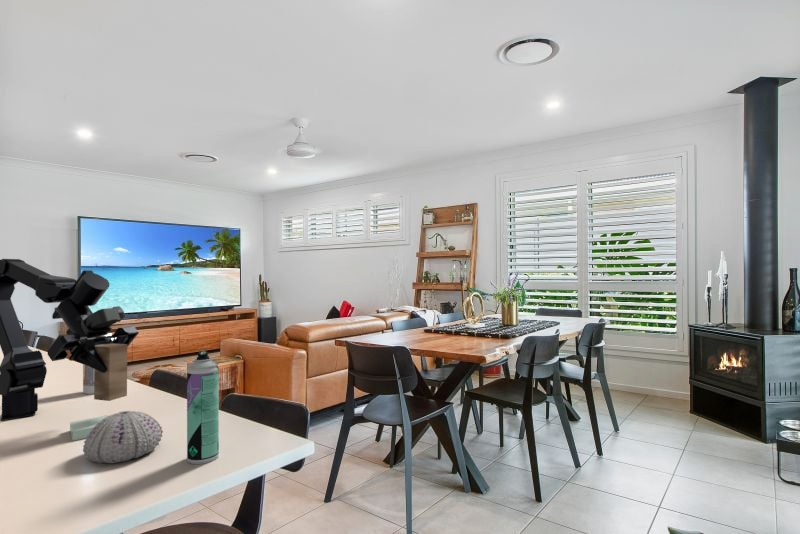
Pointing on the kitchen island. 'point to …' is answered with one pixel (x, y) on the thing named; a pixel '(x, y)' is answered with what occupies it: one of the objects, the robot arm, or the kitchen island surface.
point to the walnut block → (111, 372)
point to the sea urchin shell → (122, 437)
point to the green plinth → (84, 427)
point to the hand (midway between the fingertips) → (115, 369)
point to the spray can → (202, 410)
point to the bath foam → (88, 379)
